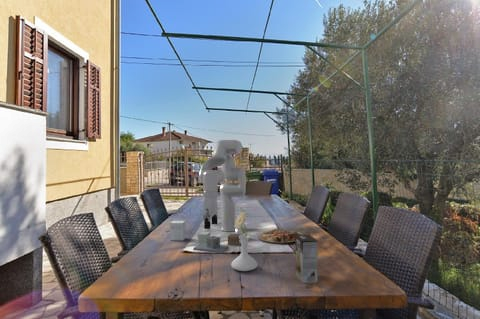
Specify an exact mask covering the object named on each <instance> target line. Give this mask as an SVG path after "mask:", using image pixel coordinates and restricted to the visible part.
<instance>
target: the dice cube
mask: <svg viewBox="0 0 480 319" xmlns="http://www.w3.org/2000/svg"><path fill="white" fill-rule="evenodd" d="M206 244H207V247H208V248H212V249H214V248H218V247H220V245H221V237H220V236H216V235H210V237H207V243H206Z"/></svg>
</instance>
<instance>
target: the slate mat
mask: <svg viewBox="0 0 480 319" xmlns="http://www.w3.org/2000/svg"><path fill="white" fill-rule="evenodd" d="M228 247H229V245H228V244H220V247H218V248H214V249H212V248H208V247H207V243H199V244H197V245H195V246H194V247H193V251H200V252H201V251H203V252H211V253H224V252H225V250H227V249H228Z"/></svg>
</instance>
